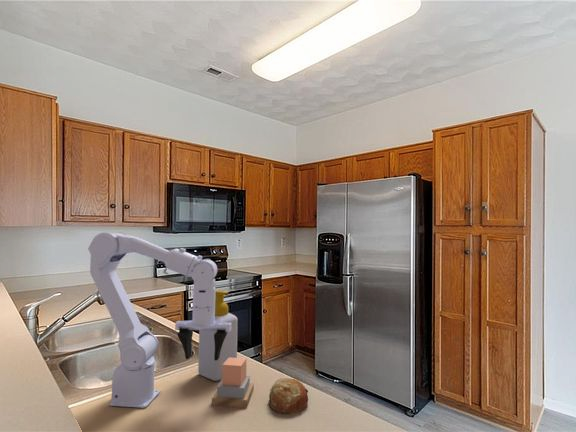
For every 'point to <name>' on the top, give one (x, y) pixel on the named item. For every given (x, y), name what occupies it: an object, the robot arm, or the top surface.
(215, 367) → the soap bottle
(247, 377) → the grey slab
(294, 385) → the bread roll
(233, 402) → the walnut slab
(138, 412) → the top surface
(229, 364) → the terracotta cube
